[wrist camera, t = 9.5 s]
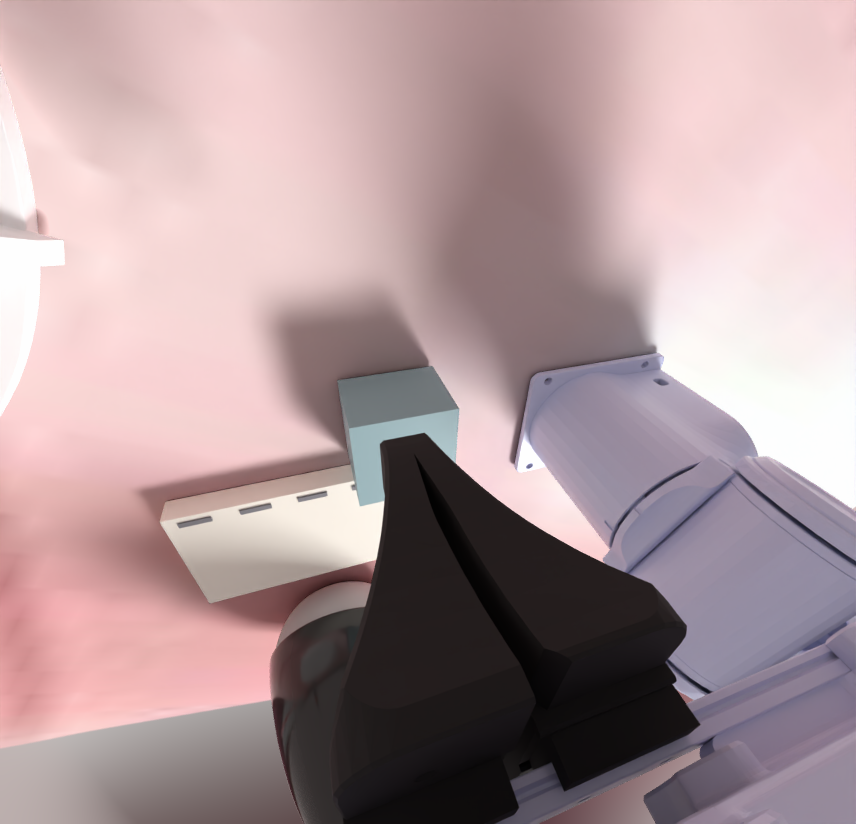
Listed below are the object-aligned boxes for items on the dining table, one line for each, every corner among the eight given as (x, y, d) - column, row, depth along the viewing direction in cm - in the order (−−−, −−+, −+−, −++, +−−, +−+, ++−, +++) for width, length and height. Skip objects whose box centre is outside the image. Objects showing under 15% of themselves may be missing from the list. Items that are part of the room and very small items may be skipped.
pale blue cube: (432, 366, 21) (459, 408, 18) (431, 438, 24) (454, 484, 21) (337, 380, 20) (348, 428, 17) (348, 454, 23) (359, 506, 20)
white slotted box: (432, 447, 25) (440, 463, 24) (430, 528, 30) (437, 544, 29) (165, 501, 21) (159, 523, 20) (212, 583, 26) (209, 605, 25)
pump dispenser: (242, 595, 28) (221, 941, 16) (386, 543, 29) (460, 827, 18) (295, 652, 34) (307, 929, 23) (411, 607, 36) (477, 845, 24)
